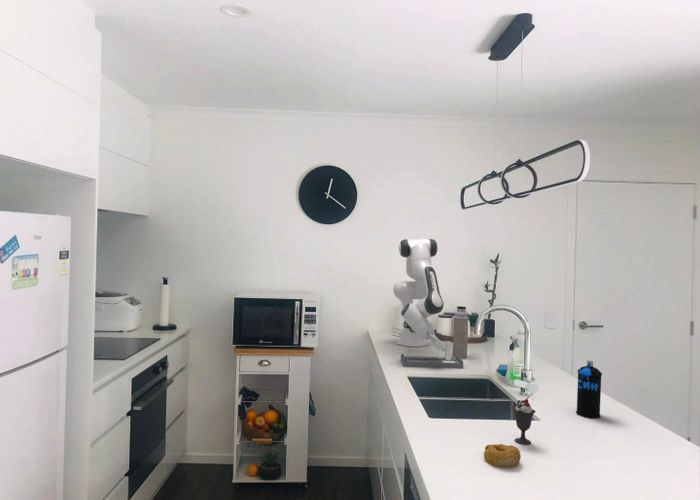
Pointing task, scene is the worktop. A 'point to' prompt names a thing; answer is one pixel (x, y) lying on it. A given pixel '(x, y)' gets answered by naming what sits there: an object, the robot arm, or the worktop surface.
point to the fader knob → (448, 350)
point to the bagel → (502, 455)
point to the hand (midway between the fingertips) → (444, 350)
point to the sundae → (523, 419)
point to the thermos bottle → (460, 333)
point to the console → (431, 362)
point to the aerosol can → (589, 391)
